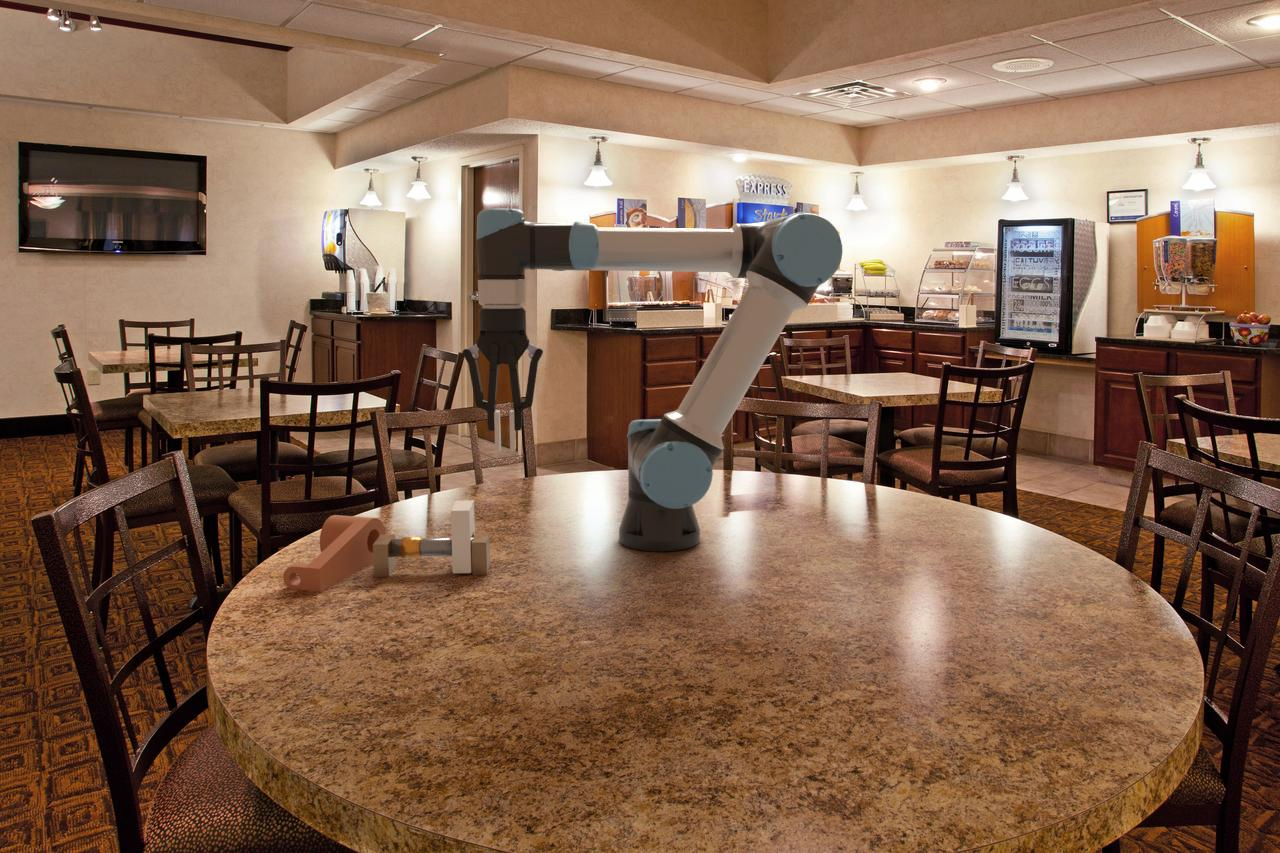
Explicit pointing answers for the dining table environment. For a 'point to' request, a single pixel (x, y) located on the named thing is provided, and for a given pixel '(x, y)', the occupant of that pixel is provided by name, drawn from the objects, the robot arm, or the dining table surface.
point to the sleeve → (462, 535)
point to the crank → (337, 553)
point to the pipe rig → (426, 551)
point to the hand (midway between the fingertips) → (505, 449)
